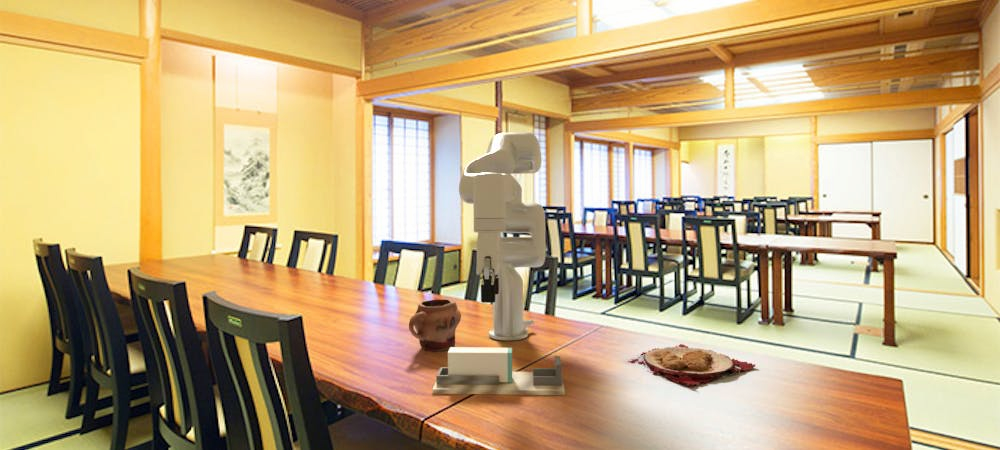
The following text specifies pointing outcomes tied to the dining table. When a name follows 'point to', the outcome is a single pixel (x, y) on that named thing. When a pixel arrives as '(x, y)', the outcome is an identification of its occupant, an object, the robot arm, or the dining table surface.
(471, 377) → the base
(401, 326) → the dining table surface
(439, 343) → the brown clay mug
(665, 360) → the plate with food
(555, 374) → the socket
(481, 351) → the white teal block
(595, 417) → the dining table surface
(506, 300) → the robot arm
